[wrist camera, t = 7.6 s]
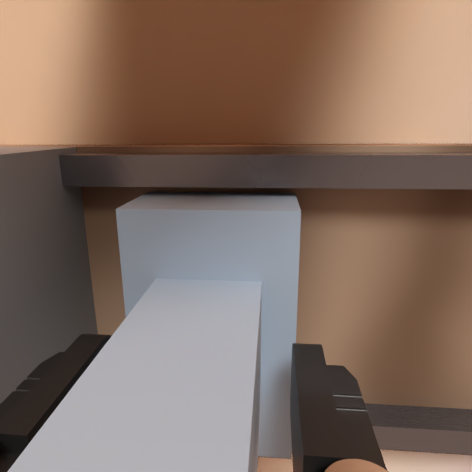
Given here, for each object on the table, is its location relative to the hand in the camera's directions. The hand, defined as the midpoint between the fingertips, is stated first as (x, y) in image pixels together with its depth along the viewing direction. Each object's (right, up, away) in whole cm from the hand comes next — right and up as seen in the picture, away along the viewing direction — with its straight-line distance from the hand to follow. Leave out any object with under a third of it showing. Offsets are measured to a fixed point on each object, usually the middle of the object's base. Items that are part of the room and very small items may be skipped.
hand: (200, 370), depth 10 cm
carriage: (0, +1, +4) cm, 5 cm away
